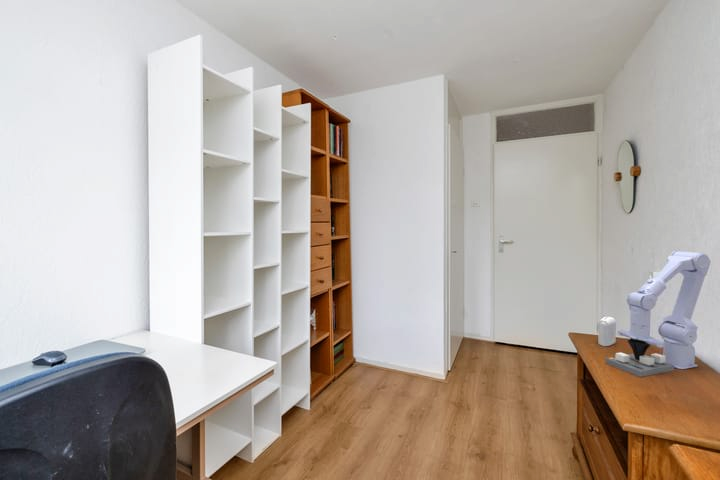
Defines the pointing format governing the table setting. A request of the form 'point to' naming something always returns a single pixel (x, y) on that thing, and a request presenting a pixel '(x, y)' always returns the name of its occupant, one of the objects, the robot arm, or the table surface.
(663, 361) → the switch
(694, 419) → the table surface
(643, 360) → the switch middle
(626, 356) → the switch
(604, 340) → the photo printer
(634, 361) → the switch panel
